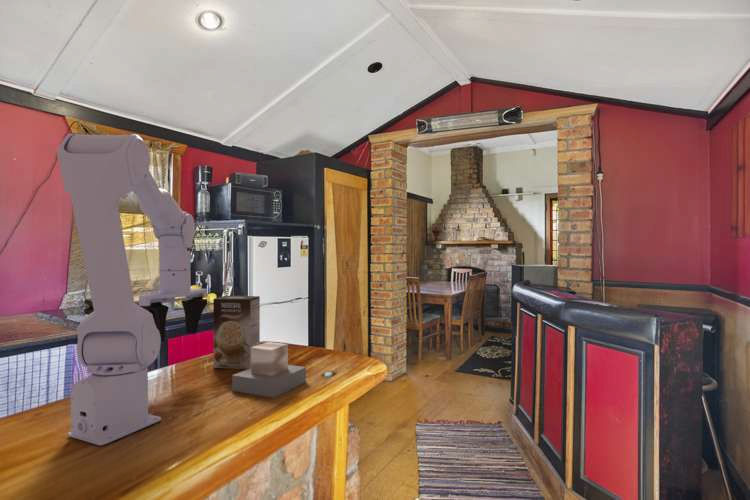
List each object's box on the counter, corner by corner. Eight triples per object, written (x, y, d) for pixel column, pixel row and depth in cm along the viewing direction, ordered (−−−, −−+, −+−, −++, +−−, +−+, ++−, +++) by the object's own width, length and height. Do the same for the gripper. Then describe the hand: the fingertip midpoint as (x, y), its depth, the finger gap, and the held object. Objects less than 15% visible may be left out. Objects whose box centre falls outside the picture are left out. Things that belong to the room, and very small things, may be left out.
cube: (272, 376, 77) (271, 349, 77) (251, 373, 80) (251, 347, 80) (288, 368, 82) (287, 344, 82) (268, 366, 84) (267, 342, 84)
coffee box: (211, 368, 93) (211, 298, 93) (224, 361, 100) (224, 295, 100) (250, 369, 92) (249, 298, 92) (261, 361, 99) (260, 295, 99)
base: (274, 398, 74) (274, 381, 74) (232, 390, 78) (232, 375, 78) (305, 381, 83) (305, 367, 83) (266, 376, 87) (266, 361, 87)
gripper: (190, 268, 91) (191, 329, 92) (127, 272, 78) (128, 342, 78) (213, 268, 89) (214, 331, 89) (152, 272, 75) (153, 346, 75)
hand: (175, 337), depth 83 cm, fingers open, 7 cm apart
